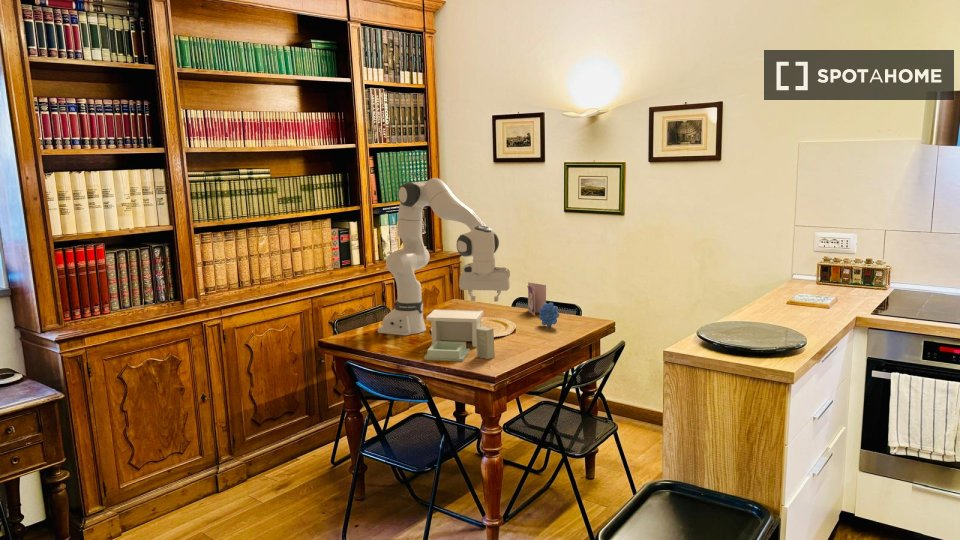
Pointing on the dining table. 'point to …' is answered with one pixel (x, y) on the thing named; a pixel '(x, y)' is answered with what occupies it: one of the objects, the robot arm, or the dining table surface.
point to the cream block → (454, 325)
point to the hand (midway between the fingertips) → (484, 300)
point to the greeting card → (536, 297)
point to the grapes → (548, 314)
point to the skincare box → (485, 342)
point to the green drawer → (447, 351)
